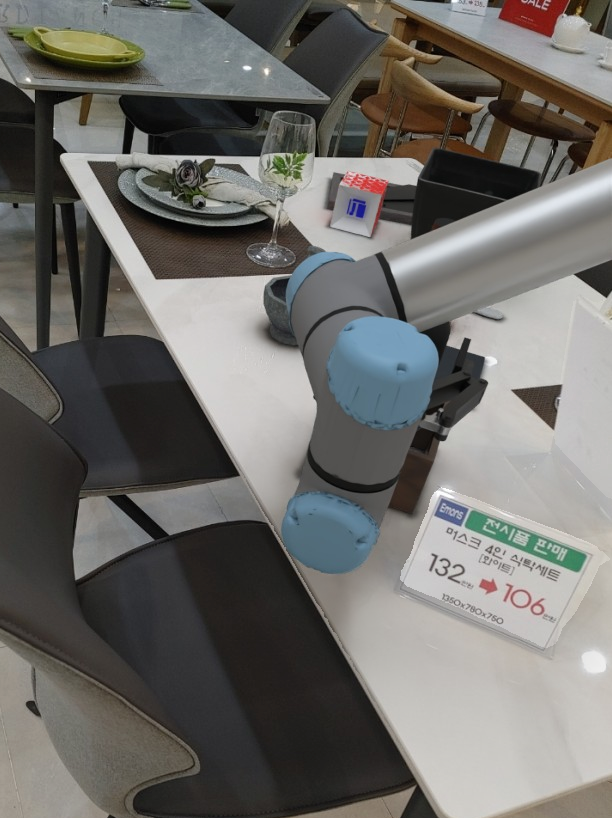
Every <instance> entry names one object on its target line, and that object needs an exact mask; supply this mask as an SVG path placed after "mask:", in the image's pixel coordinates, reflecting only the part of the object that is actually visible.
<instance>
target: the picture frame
mask: <svg viewBox="0 0 612 818" xmlns="http://www.w3.org/2000/svg"><path fill="white" fill-rule="evenodd" d="M345 175H346V173H340V172H334V171H333V172H332V178H331V183H330V190H329V195H328V200H327V201H328V202H327V210H334V206H335V200H336V196H337V191H338V187H339V184H340V182H341V181H342V179H343V178H344V176H345ZM416 186H417V185H414V184H409V183H408V184H397V183H393V182H388V185H387V189H386V193H385V196H384V200H383V204H382V208H381V211H380V215H379V219H378V220H380V219H381V220H385V221H391V222H396V223H400V224H405V225H406V224H407V225H412V215H413V206H414V199H415V192H416Z"/></svg>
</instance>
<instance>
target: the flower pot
mask: <svg viewBox="0 0 612 818" xmlns="http://www.w3.org/2000/svg"><path fill="white" fill-rule="evenodd" d="M541 179H542V173H541V172H540V171H537V170H534V169H530V168H527V167H522V166H517V165H513V164H509V163H506V162H500V161H496V160H493V159H488V158H484V157H479V156H475V155H471V154H466V153H462V152H458V151H453V150H450V149H444V148H440V147H433V148H432V149H431V151H430V153H429V155H428V157H427V160H426V161H425V163H424V165H423V167H422V169H421V171H420V173H419V175H418V177H417V179H416V180H417V181H416V185H415V186H416V192H415V199H414V206H413V215H412V225H411V224H410V225H411V227H410V240H411V239H414V238H416V237H419V236H421V235H424V234H426V233H428V232H431V229H432V226H433V225H434V222H435V220H436V219H438V218H448V219H452V220H455V221H458V220H460V219H463V218H465V217H468V216H470V215H473V214H475V213H478V212H480V211H483V210H485V209H488V208H490V207H492V206H495V205H497V204H500V203H502V202H505V201H507V200H510V199H512V198H515V197H517V196H520V195H522V194H524V193H527V192H529V191H532V190H534V189H537V188H539V187H541Z"/></svg>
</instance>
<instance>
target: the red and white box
mask: <svg viewBox="0 0 612 818" xmlns="http://www.w3.org/2000/svg"><path fill="white" fill-rule="evenodd" d="M345 174H346V175H345V176H344V178H343V179H342V181H341V182H340V184H339V187H338V191H337V196H336V200H335V206H334V210H333V211H332V213H331V220H330V224H329V228H331V229H332V228H333V229H337V230H340V231H345V232H349V233H351V234H352V233H353V234H356V235H359V236H364V237H367V238H371V237H372V235H373V233H374V231H375V229H376V227H377V225H378V222H379V220H380V219H379V215H380V211H381V208H382V204H383V200H384V196H385V193H386V189H387V185H388V183H389V180H386V179H382V178H378V177H374V176H370V175H367V174H363V173H358V172H354V171H351V170H347V172H345Z"/></svg>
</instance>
